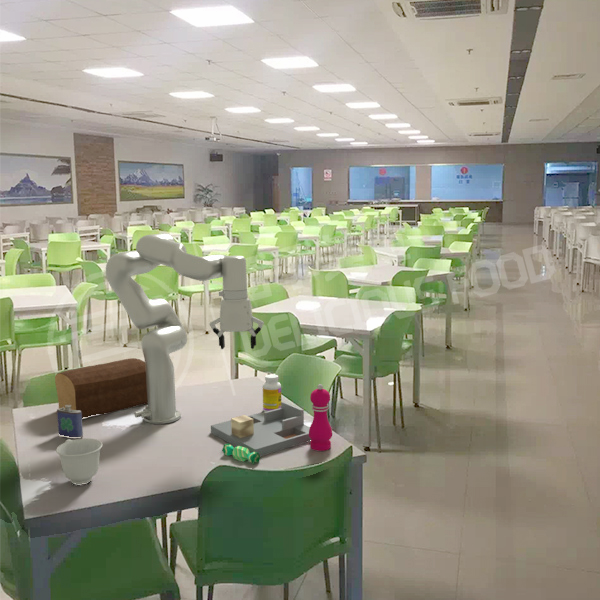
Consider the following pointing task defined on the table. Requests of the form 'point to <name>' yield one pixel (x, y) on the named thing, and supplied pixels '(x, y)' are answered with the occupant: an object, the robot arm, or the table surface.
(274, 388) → the supplement bottle
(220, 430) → the plate
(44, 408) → the table surface
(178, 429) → the table surface
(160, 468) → the table surface
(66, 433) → the flask
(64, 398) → the bread
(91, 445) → the teacup
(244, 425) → the block
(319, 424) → the pepper mill
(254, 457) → the candy
